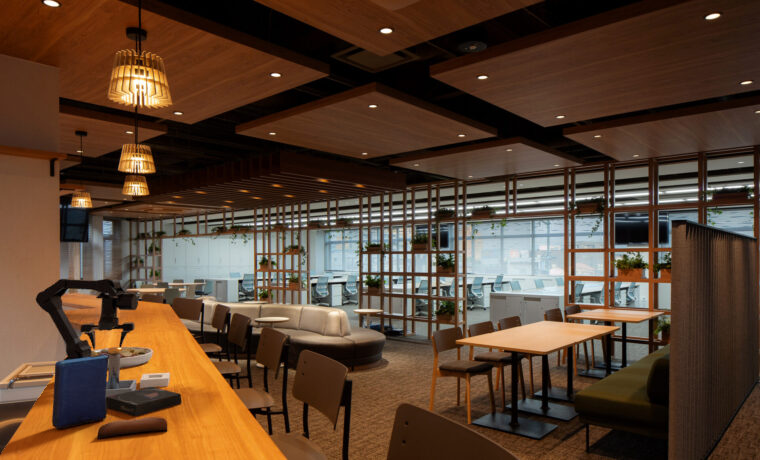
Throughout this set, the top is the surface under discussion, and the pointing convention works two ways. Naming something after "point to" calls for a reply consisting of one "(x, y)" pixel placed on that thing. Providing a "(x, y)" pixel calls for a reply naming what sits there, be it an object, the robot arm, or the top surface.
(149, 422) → the sunglasses case
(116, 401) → the portable cd player
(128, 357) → the bowl
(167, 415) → the top surface
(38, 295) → the robot arm
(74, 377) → the book
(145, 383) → the pin socket block
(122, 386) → the pin tray
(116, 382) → the pin
